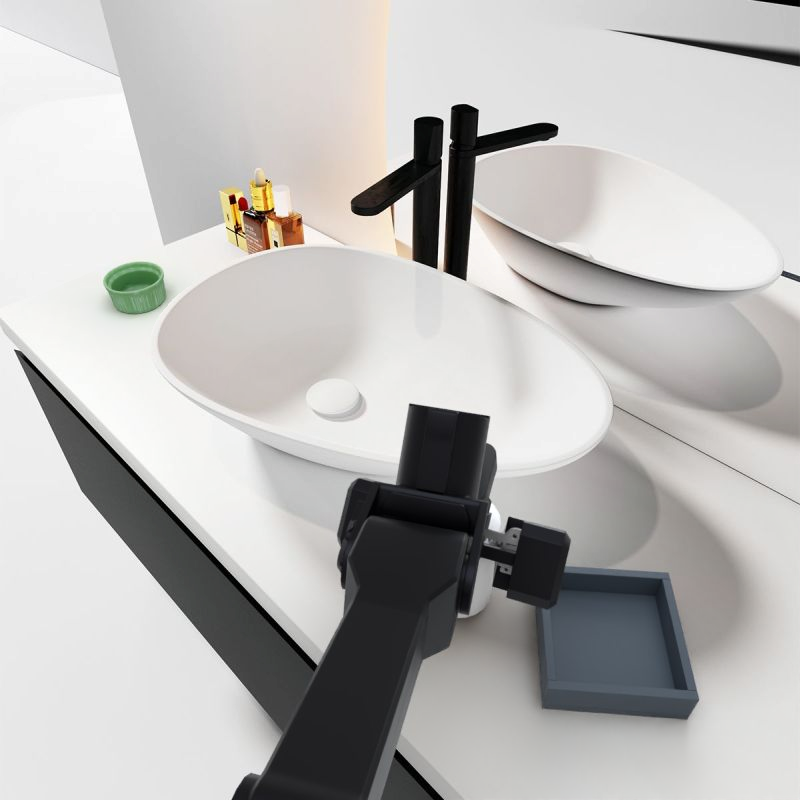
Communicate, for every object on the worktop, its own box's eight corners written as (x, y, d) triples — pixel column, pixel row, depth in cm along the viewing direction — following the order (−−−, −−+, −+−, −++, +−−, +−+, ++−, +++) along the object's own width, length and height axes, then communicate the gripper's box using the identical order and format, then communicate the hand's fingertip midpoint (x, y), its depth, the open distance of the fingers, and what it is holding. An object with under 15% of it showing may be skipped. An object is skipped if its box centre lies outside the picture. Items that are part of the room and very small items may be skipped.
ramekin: (149, 321, 106) (141, 296, 103) (99, 310, 108) (90, 286, 105) (180, 289, 112) (174, 266, 109) (132, 280, 114) (125, 257, 111)
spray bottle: (426, 558, 73) (431, 434, 61) (492, 564, 72) (509, 441, 60) (419, 616, 68) (423, 493, 56) (490, 623, 67) (509, 501, 55)
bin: (687, 719, 61) (699, 700, 58) (542, 708, 62) (548, 688, 59) (659, 593, 70) (668, 572, 68) (533, 585, 71) (538, 563, 68)
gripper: (588, 474, 48) (584, 471, 64) (341, 414, 53) (392, 425, 68) (552, 631, 48) (557, 591, 63) (307, 556, 53) (366, 536, 68)
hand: (465, 530), depth 66 cm, fingers closed on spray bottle, 7 cm apart
